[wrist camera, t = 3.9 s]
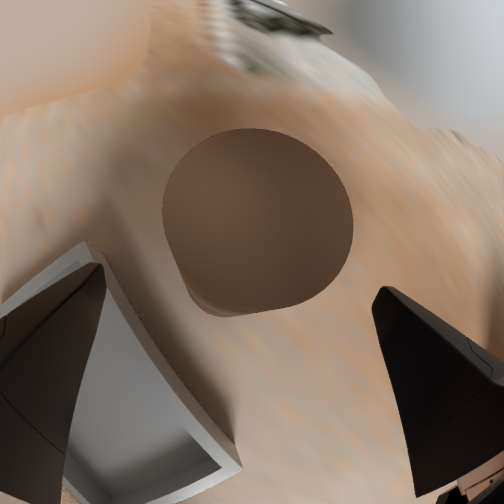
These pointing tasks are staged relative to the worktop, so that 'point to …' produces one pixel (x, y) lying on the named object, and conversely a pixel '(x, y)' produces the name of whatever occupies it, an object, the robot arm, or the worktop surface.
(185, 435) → the box
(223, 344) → the worktop surface
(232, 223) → the walnut cylinder
